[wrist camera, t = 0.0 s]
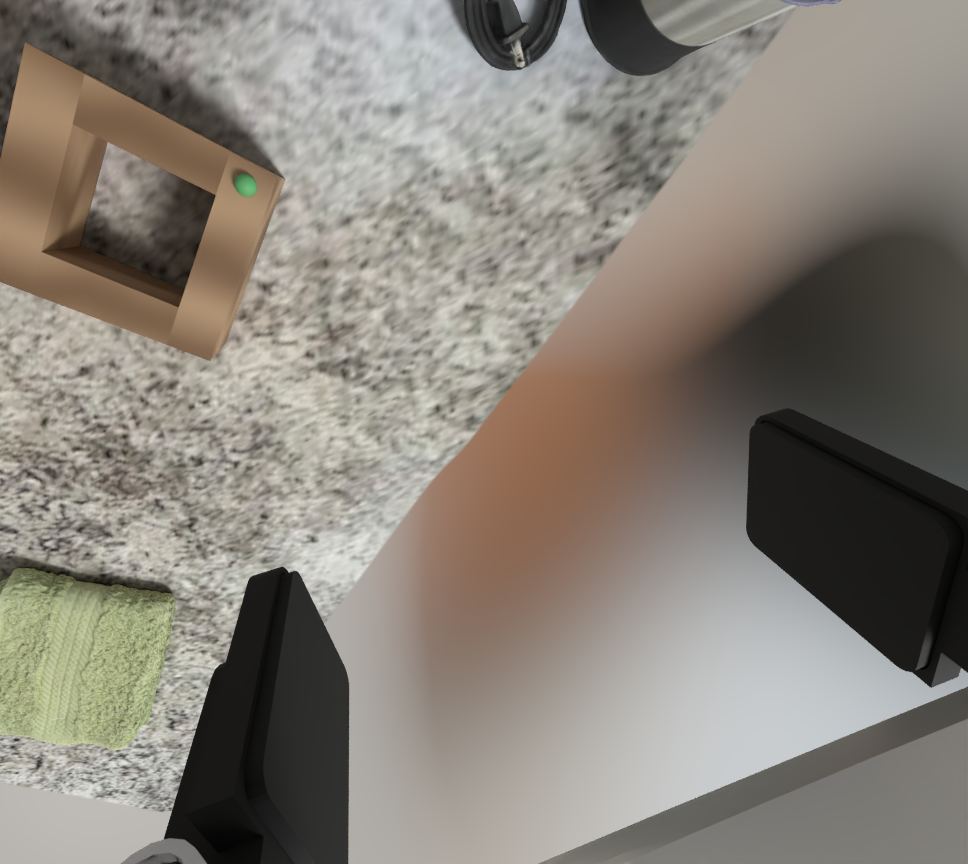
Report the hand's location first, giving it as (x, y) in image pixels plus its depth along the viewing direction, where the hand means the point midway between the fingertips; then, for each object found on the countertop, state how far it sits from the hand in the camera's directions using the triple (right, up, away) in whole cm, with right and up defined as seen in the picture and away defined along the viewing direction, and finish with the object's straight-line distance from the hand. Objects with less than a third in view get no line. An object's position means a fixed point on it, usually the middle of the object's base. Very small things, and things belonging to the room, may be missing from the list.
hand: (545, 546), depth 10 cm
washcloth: (-36, -17, +34) cm, 52 cm away
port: (-22, +16, +22) cm, 35 cm away
